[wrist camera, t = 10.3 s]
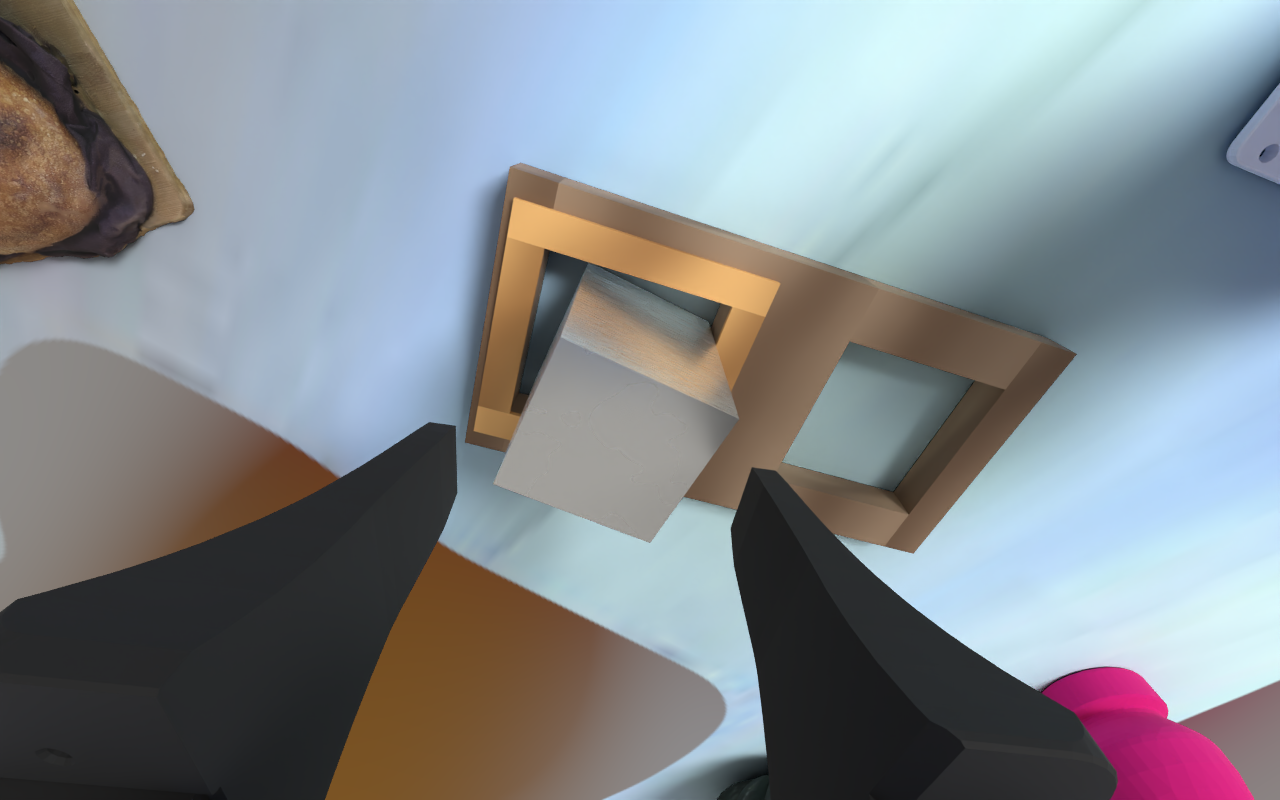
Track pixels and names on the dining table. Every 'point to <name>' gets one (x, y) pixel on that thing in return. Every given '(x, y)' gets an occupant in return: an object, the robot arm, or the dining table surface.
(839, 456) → the dining table surface
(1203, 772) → the pepper mill
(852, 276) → the wooden board with holes
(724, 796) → the squash
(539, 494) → the light grey block
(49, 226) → the bread roll
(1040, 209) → the dining table surface
